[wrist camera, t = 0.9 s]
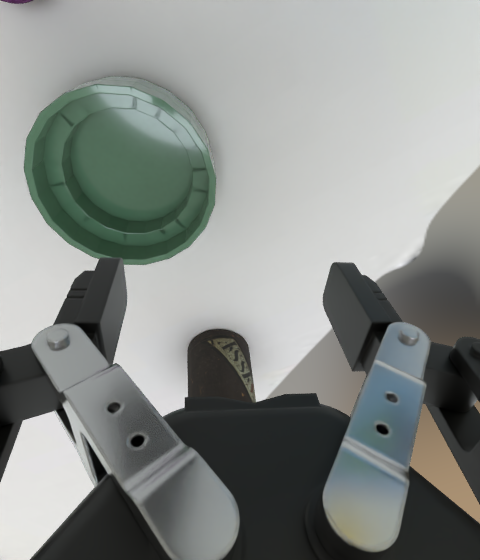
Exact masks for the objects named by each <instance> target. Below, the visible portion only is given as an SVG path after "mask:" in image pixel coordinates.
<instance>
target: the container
mask: <svg viewBox="0 0 480 560" xmlns="http://www.w3.org/2000/svg"><path fill="white" fill-rule="evenodd" d="M187 363H188V397H215V396H219V397H224V398H229V399H235V400H240V401H245V402H251V403H255V402H256V399H255V392H254V384H253V377H252V369H251V361H250V353H249V347H248V344H247V343H246V341H245V340H244V339H243V338H242V337H241V336H240V335H238V334H236V333H234V332H231V331H227V330H211V331H207V332H204V333H202V334H200V335H198V336H197V337H195V338H194V339H193V340H192V342H191V343H190V345H189V347H188V361H187Z"/></svg>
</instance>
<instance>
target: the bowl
mask: <svg viewBox="0 0 480 560" xmlns="http://www.w3.org/2000/svg"><path fill="white" fill-rule="evenodd" d="M24 172H25V176H26V180H27V184H28V187H29V191H30V195H31V198H32V200H33V202H34V203H35V205H36V206H37V208H38V210H39V211H40V213H41V215H42V216H43V218H44V219H45V221H46V223H47V224H48V225H49V226H50V227H51V228H52V229H53V230H54V231H55V232H57V233H58V234H59V235H60V236H61V237H62V238H63V239H64V240H65V241H66V242H67V243H69V244H70V245H72V246H74V247H75V248H77V249H79V250H81V251H83V252H84V253H86V254H88V255H90V256H92V257H94V258H98V259H100V258H101V257H108V258H122V259H123V264H124V265H146V264H150V263H154V262H158V261H162V260H166V259H169V258H171V257H173V256H174V255H176V254H178V253H179V252H181V251H183V250H184V249H186V248H188V247H189V246H190V245H191V244H192V243H193V242H194V241H195V240H196V238H197V237H198V236H199V235H200V234H201V233H202V231H203V230H204V229H205V228H206V226H207V223H208V221H209V218H210V216H211V213H212V211H213V208H214V206H215V191H216V174H215V167H214V159H213V155H212V152H211V148H210V144H209V141H208V137H207V134H206V132H205V131H204V129H203V128H202V126H201V124H200V123H199V121H198V120H197V118H196V117H195V115H194V113H193V112H192V110H191V109H190V108H188V107H187V106H186V105H185V104H184V103H183V102H181V101H180V100H179V99H178V98H177V97H176V96H174V95H173V94H172V93H171V92H170V91H168V90H167V89H164V88H162V87H160V86H157V85H155V84H153V83H150V82H148V81H146V80H143V79H140V78H130V77H118V76H109V77H105V78H102V79H98V80H95V81H91V82H88V83H84V84H82V85H80V86H78V87H76V88H74V89H72V90H70V91H68V92H66V93H64V94H63V95H61V96H60V97H59V98H58V99H56V100H55V101H54V102H53V103H51V104H50V105H49V106H48V107H46V108H45V109H44V110H43V111H41V113H40V114H39V116H38V118H37V119H36V121H35V123H34V125H33V127H32V129H31V131H30V133H29V135H28V137H27V140H26V148H25V160H24Z"/></svg>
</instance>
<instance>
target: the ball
mask: <svg viewBox="0 0 480 560" xmlns="http://www.w3.org/2000/svg"><path fill="white" fill-rule="evenodd" d="M1 1H4V2H8V3H14V4H20V3H27V2H30V1H33V0H1Z"/></svg>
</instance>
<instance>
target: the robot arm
mask: <svg viewBox="0 0 480 560" xmlns="http://www.w3.org/2000/svg"><path fill="white" fill-rule="evenodd" d="M126 306H127V289H126V281H125V272H124V264H123V259H122V258H108V257H101V258H100V259H99V261H98V264H97V266H96V268H95V271H84V272H83V273H82V274H80V275H79V276H78V277H77V278H75V280H74V282H73V284H72V286H71V288H70V290H69V293H68V295H67V298H66V299H65V301H64V303H63V305H62V307H61V310H60V312H59V314H58V316H57V318H56V320H55V322H54V324H53V326H50V327H47V328H45V329H44V330H42V331H40V332H39V333H38V334H37V335H36V336H35V337H34V339H33V341H32V343H31V344H29V345H26V346H22V347H18V348H13V349H9V350H4V351H0V482H1V479H2V476H3V474H4V471H5V468H6V465H7V462H8V460H9V457H10V454H11V451H12V449H13V446H14V443H15V440H16V438H17V435H18V432H19V429H20V427H21V424H22V421H23V420H25V419H29V418H32V417H35V416H39V415H42V414H45V413H49V412H52V411H54V412H55V414H56V416H57V417H58V419H59V421H60V423H61V424H62V426H63V428H64V430H65V431H66V433H67V435H68V437H69V438H70V440H71V442H72V444H73V445H74V447H75V449H76V450H77V452H78V454H79V456H80V458H81V460H82V463H83V465H84V467H85V470H86V472H87V474H88V476H89V478H90V479H91V481H92V483H93V485H94V487H95V488H94V489H93V490H92V491H91V492H90V493H89V494H88V495H87V497H86V498H85V499H84V500H83V501H82V502H81V503H80V504H79V505H78V507H77V508H76V509H75V510H74V511H73V512H72V513H71V514H70V515H69V517H68V518H67V519H66V520H65V521H64V522H63V523H62V524H61V526H60V527H59V528H58V529H57V530H56V531H55V532H54V533H53V534H52V536H51V537H50V538H49V539H48V540H47V541H46V542H45V543H44V544H43V546H42V547H41V548H40V549H39V550H38V551H37V552H36V553H35V554H34V556H33V557H32V558H31V559H30V560H480V524H479V523H478V522H477V521H476V520H475V519H473V518H472V517H471V516H470V515H469V514H467V513H466V512H465V511H464V510H463V509H461V508H460V507H459V506H458V505H456V504H455V503H454V502H453V501H452V500H450V499H449V498H448V497H447V496H446V495H444V494H443V493H442V492H441V491H439V490H438V489H437V488H436V487H435V486H433V485H432V484H431V483H430V482H429V481H427V480H426V479H425V478H424V477H423V476H421V475H420V474H419V473H418V472H416V471H415V470H414V469H413V468H412V467H410V460H411V456H412V451H413V447H414V442H415V437H416V432H417V428H418V423H419V419H420V413H421V409H422V404H426V406H427V408H428V410H429V411H430V413H431V415H432V417H433V419H434V421H435V422H436V424H437V426H438V428H439V430H440V432H441V433H442V435H443V437H444V439H445V441H446V443H447V445H448V447H449V448H450V450H451V452H452V454H453V456H454V458H455V459H456V461H457V463H458V465H459V467H460V469H461V471H462V473H463V474H464V476H465V478H466V480H467V482H468V483H469V486H470V487H471V489H472V491H473V493H474V494H475V497H476V498H477V500H478V502H479V504H480V413H479V412H478V410H477V409H476V407H475V406H474V403H475V402H476V401H477V400H478V401H479V402H480V339H476V338H473V337H462V338H460V339H458V340H457V342H456V344H455V345H454V347H451V346H447V345H443V344H438V343H434V342H431V341H430V339H429V337H428V335H427V334H426V333H425V332H424V331H422V330H421V329H420V328H418V327H416V326H414V325H411V324H409V323H404V322H402V320H401V318H400V317H399V315H398V314H397V313H396V311H395V310H394V308H393V307H392V306H391V304H390V303H389V301H388V300H387V298H386V297H385V295H384V294H383V293H382V291H381V290H380V288H379V287H378V286H377V284H376V283H375V282H374V281H373V280H371V279H370V278H369V277H367V276H366V275H361V273H360V272H359V270H358V269H357V267H356V266H355V264H354V263H342V262H334V263H333V264H332V266H331V268H330V272H329V275H328V279H327V283H326V286H325V290H324V294H323V306H324V309H325V312H326V314H327V316H328V318H329V321H330V323H331V325H332V327H333V329H334V332H335V334H336V336H337V338H338V340H339V343H340V345H341V347H342V349H343V351H344V354H345V356H346V358H347V360H348V362H349V365H350V367H351V369H352V371H365V372H366V374H367V376H366V378H365V380H364V383H363V385H362V387H361V390H360V392H359V395H358V397H357V400H356V402H355V405H354V407H353V410H352V412H351V414H350V417H349V416H348V415H346V414H344V413H342V412H341V411H339V410H337V409H334V408H332V407H329V406H326V405H323V404H320V403H319V400H318V397H317V395H316V393H311V394H284V395H281V396H277V397H274V398H270V399H266V400H263V401H259V402H255V403H251V402H245V401H240V400H235V399H229V398H224V397H219V396H215V397H185V408H182V409H179V410H176V411H174V412H171V413H169V414H167V415H165V416H164V417H162V416H161V415H160V414H159V413H158V411H157V410H156V409H155V408H154V406H153V405H152V404H151V403H150V402H149V400H148V399H147V398H146V397H145V395H144V394H143V393H142V392H141V390H140V389H139V388H138V387H137V386H136V384H135V383H134V382H133V381H132V379H131V378H130V377H129V376H128V375H127V373H126V372H125V371H124V370H123V368H122V367H121V366H120V365H118V364H117V363H115V364H113V360H114V356H115V352H116V348H117V344H118V339H119V335H120V331H121V327H122V323H123V319H124V315H125V311H126ZM112 364H113V365H112Z"/></svg>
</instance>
